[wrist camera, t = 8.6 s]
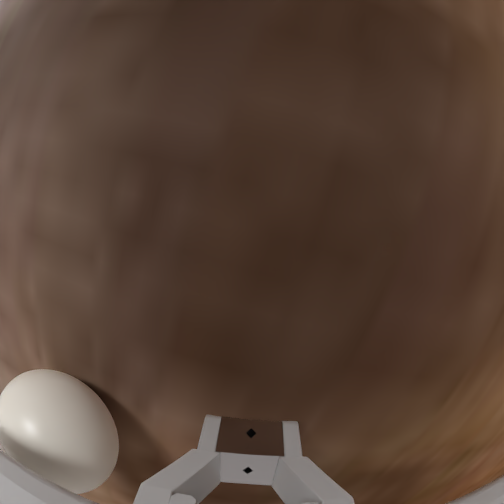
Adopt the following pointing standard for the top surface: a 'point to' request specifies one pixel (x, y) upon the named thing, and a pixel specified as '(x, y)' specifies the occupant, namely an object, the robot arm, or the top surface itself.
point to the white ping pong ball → (58, 429)
